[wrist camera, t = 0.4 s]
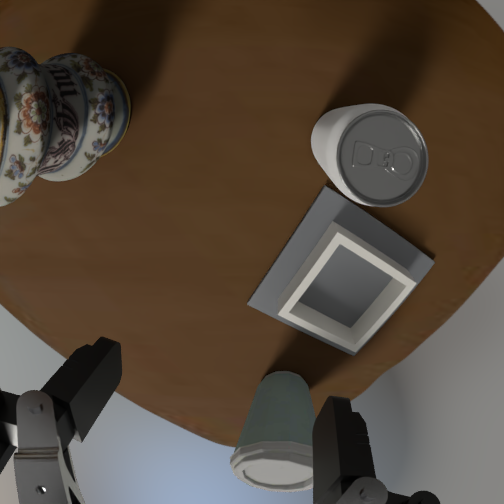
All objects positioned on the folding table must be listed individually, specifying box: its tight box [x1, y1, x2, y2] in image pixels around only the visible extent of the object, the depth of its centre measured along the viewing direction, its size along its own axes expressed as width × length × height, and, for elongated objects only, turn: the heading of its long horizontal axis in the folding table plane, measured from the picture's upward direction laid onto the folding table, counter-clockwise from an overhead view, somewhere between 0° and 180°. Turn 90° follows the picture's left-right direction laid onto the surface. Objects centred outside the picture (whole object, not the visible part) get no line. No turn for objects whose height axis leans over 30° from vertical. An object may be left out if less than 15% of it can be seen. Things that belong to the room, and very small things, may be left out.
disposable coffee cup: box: [230, 371, 316, 492], centre depth 33 cm, size 11×11×15 cm
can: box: [311, 104, 428, 207], centre depth 21 cm, size 6×6×12 cm
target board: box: [247, 185, 435, 356], centre depth 31 cm, size 15×15×4 cm
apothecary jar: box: [0, 47, 131, 206], centre depth 19 cm, size 12×12×18 cm
